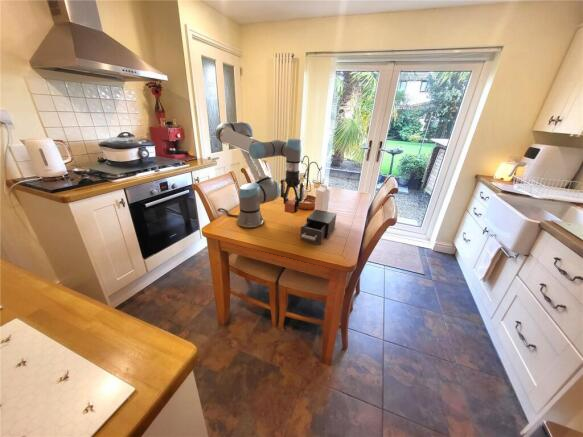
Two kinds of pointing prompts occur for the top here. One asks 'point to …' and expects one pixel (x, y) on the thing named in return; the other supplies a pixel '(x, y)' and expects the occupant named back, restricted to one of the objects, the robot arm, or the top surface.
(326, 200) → the milk
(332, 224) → the small drawer unit
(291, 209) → the block
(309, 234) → the grey drawer
